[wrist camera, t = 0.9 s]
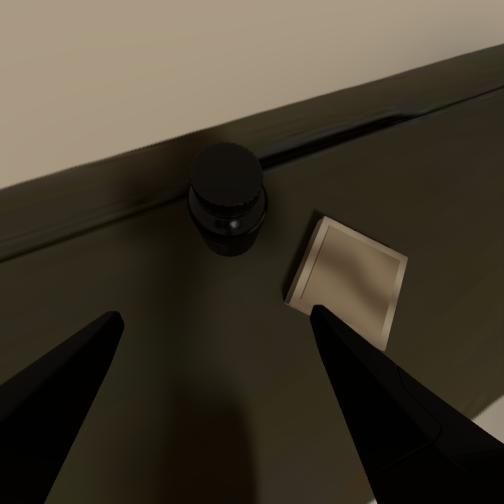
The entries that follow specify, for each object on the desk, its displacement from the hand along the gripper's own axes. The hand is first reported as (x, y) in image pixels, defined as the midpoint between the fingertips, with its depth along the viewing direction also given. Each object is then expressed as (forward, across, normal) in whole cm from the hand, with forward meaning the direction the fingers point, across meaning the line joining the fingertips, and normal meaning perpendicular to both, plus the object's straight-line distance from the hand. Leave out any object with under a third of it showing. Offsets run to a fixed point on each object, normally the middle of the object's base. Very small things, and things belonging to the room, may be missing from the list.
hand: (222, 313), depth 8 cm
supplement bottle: (+16, 0, +3) cm, 16 cm away
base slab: (+11, -15, +7) cm, 20 cm away
